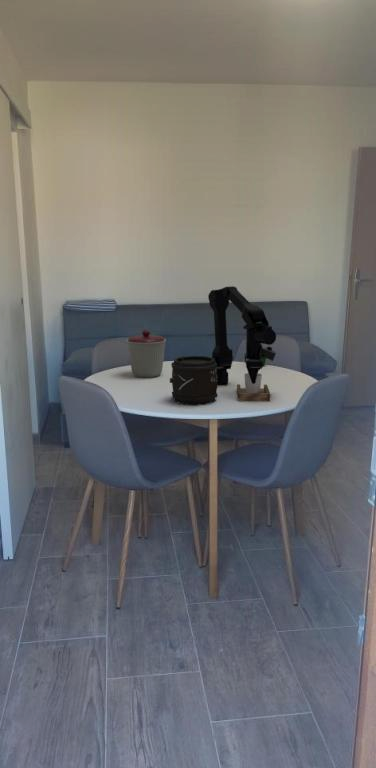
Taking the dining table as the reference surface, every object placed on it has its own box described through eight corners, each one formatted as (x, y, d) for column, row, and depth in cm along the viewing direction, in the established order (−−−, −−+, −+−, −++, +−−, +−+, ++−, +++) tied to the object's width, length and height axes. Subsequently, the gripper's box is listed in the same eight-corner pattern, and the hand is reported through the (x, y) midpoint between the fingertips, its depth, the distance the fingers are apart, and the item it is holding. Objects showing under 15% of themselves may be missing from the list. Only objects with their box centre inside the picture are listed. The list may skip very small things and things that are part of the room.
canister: (151, 381, 257) (150, 333, 253) (119, 377, 267) (117, 330, 262) (174, 374, 272) (173, 328, 268) (142, 370, 282) (141, 326, 277)
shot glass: (260, 394, 228) (260, 376, 226) (242, 393, 230) (243, 375, 228) (262, 390, 235) (262, 372, 233) (245, 389, 236) (245, 372, 234)
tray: (238, 401, 223) (238, 393, 222) (236, 391, 238) (236, 384, 238) (270, 401, 222) (270, 394, 222) (266, 391, 238) (266, 384, 237)
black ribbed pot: (169, 394, 234) (168, 355, 230) (214, 393, 235) (214, 354, 231) (171, 406, 216) (170, 364, 213) (219, 405, 217) (219, 363, 214)
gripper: (277, 345, 218) (276, 386, 221) (272, 337, 236) (271, 376, 240) (246, 345, 218) (246, 386, 222) (244, 337, 237) (244, 376, 240)
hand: (253, 380), depth 231 cm, fingers open, 9 cm apart
